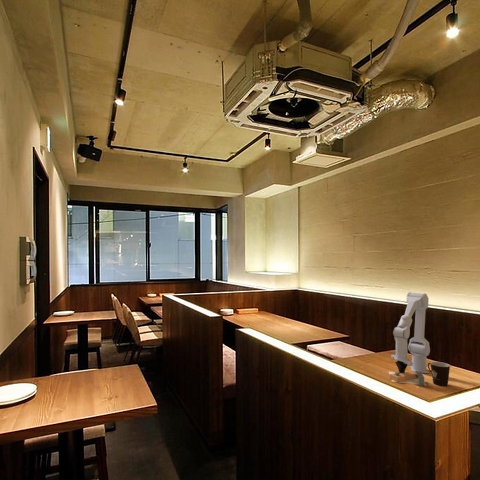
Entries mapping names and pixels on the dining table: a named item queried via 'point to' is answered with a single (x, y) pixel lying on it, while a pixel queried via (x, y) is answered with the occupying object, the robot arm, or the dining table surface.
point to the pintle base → (411, 381)
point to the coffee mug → (440, 373)
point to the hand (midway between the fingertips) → (401, 375)
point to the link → (403, 376)
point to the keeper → (420, 378)
